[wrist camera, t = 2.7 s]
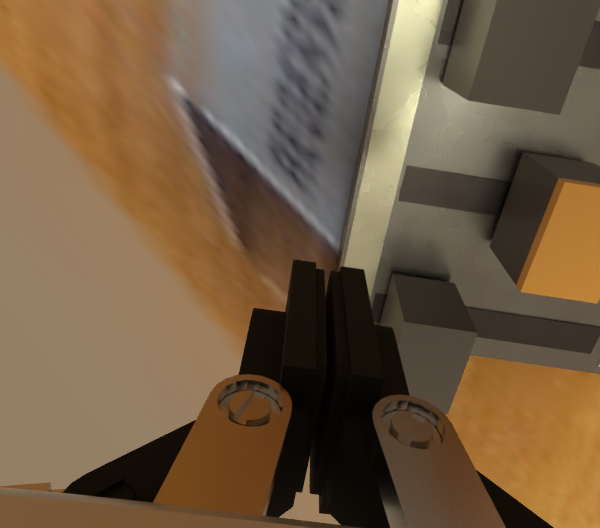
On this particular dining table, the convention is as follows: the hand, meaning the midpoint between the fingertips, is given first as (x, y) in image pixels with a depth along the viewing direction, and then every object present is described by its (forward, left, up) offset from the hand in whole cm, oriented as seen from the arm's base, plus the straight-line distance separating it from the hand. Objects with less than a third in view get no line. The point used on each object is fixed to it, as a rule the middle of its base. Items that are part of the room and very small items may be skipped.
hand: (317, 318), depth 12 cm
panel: (-9, 0, -13) cm, 16 cm away
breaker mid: (-9, 0, -11) cm, 14 cm away
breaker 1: (-5, +6, -11) cm, 14 cm away
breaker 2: (-5, -7, -11) cm, 14 cm away
